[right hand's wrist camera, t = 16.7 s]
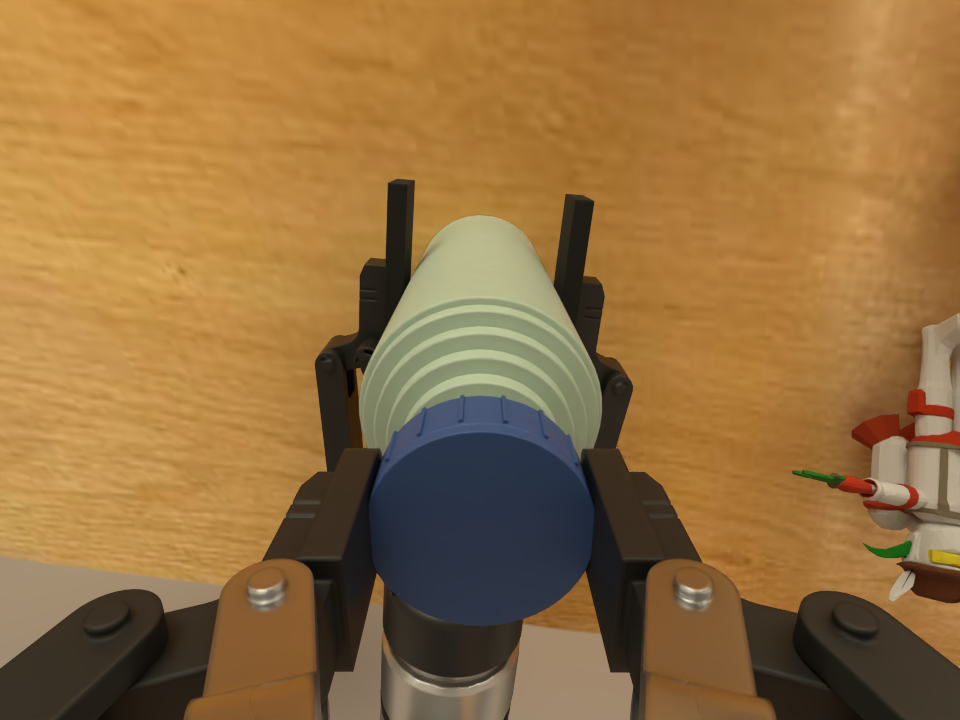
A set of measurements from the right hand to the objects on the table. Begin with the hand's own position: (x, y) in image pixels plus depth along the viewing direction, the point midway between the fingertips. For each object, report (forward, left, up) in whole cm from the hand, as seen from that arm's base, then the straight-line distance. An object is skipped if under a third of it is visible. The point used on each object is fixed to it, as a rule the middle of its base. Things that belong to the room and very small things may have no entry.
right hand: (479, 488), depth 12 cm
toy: (-23, +13, -21) cm, 33 cm away
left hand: (-1, -5, -14) cm, 15 cm away
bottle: (0, 0, -21) cm, 21 cm away
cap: (0, 0, +1) cm, 1 cm away
